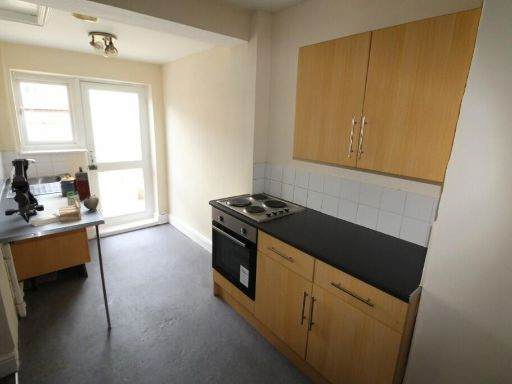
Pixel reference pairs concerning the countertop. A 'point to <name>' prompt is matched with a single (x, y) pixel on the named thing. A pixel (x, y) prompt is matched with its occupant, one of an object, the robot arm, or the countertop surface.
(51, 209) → the countertop surface
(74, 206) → the wooden crate
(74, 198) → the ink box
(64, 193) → the canister
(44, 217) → the white long block
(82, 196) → the dark red tall piece
